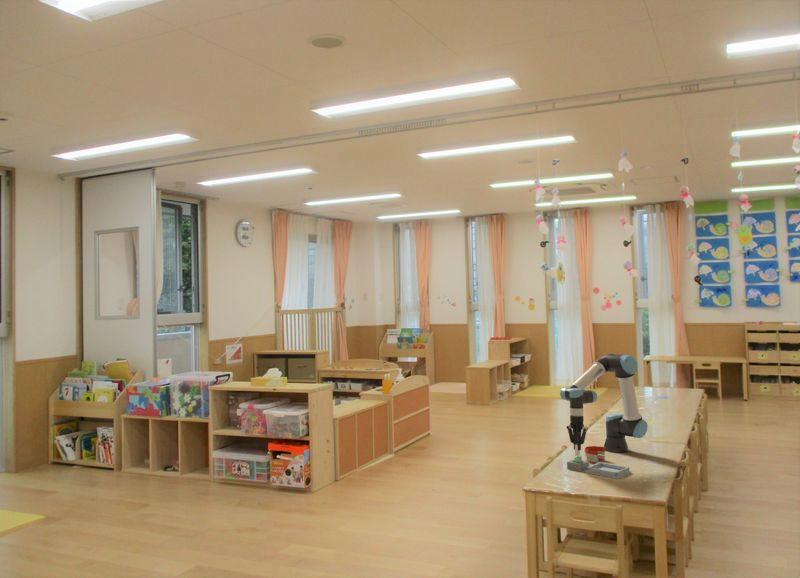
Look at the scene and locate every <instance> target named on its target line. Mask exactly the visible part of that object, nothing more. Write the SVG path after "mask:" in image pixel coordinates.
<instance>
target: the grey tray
mask: <svg viewBox="0 0 800 578" xmlns="http://www.w3.org/2000/svg"><path fill="white" fill-rule="evenodd" d="M584 473H585V474H590V475H596V476H597V475H598V476H602V477H606V478H612V479H616V480H619V479H622V478H623V477H626V476H628V475H630V474H632V471H631V470H630V467H629V466H628V467H627V466H624V465H623V466H622V465H617V464H613V463H608V462H607V463H606V462H602V461H598V463H597V464H594V463H593V464H592V465H589V467H587V469H586V470H584Z"/></svg>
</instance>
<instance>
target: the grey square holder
mask: <svg viewBox="0 0 800 578" xmlns="http://www.w3.org/2000/svg"><path fill="white" fill-rule="evenodd" d="M589 466H590V463H589V462H588V461H587V460H582V463H575V462H574V459H572V460H568V461H567V462H566V467H567V468H566V469H567V470H572V471H576V472H585V470H587V467H589Z"/></svg>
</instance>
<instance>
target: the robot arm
mask: <svg viewBox="0 0 800 578" xmlns="http://www.w3.org/2000/svg"><path fill="white" fill-rule="evenodd" d="M637 371H638V362H637V359H636V358H635V357H634V356H632V355H630V354H629V355H628V354H620V353H609V354H605V355H602V356H600V357H599V358H597V359H596V360H594V362H592V364H591V366H590V368H588V369H587V370H586V371H585V372H583V374H582V375H581V376H579V377H578V378H577V379H576V380H575V381H574V382H573V383H572V384H571V385H570V386H568V387H562V388H561V389H560V392H559V396H560V399H562V400H564V401H568V402H569V414H570V416H569V418H570V419H569V420H570V423H569V425H566V429H567V432H568V436H569V441H570V443H571V444H573V450H574V456H581V453H580V452H581V450H582V445H584V444H585V440H586V435H587V431H588V430H589V429H588V427H586V426H585V424H584V422H585V421H584V405H585V404H593V403H595V402H596V401H597V399H598V395H597V392H596V391H595V390H593V389H588V388H589V387H590V386H591V384H593V383H594V382H595V381H596V380H598V378H599V377H600V376H604V375H605V374H607V373H614V376H615V378H616V379H617V380H618V385H619V390H620V396H621V401H622V407H623V413H612V414H607V415H606V416H605V432H606V433H605V435H606V436H605V437H606V438H605V440H604V441H605V442H604V444H603V447H605V452H611V453H627V452H628V451H629V445H628V443H627V440H626V437H628V438H630V437H631V438H634V439H636V438H637V439H641V438H644V437H645V435H646V434H647V431H648V423H647V421H646V420H645V419H643V416H642V414H641V413H639V407H638V400H637V395H636V389H635V383H634V377H635V375H636V372H637ZM586 389H587V390H586Z"/></svg>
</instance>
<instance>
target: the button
mask: <svg viewBox="0 0 800 578" xmlns="http://www.w3.org/2000/svg"><path fill="white" fill-rule="evenodd" d="M582 459H583V457H582V456H581V455H580V456H575V455H574V456H573V460H574V462H575V463H582Z"/></svg>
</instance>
